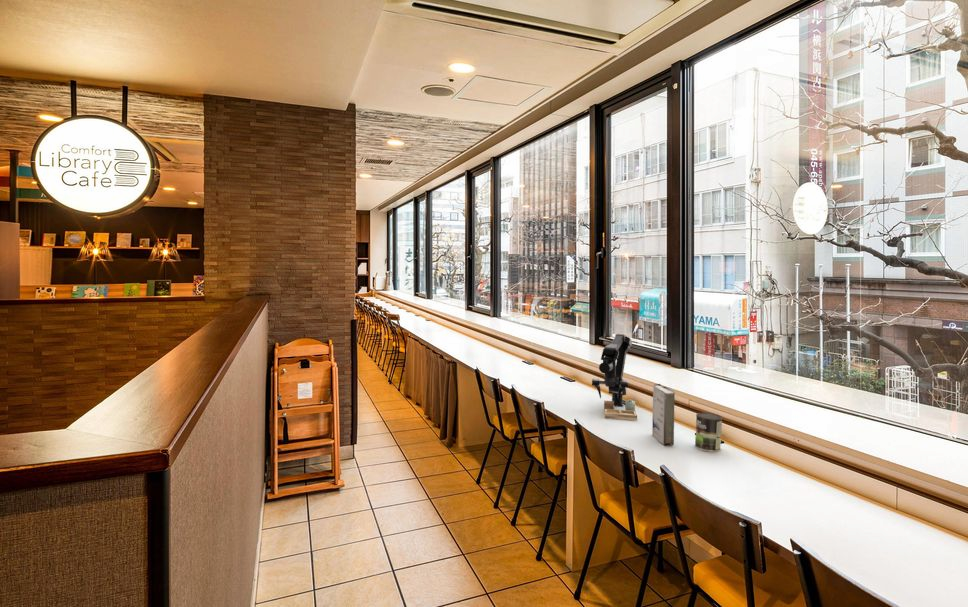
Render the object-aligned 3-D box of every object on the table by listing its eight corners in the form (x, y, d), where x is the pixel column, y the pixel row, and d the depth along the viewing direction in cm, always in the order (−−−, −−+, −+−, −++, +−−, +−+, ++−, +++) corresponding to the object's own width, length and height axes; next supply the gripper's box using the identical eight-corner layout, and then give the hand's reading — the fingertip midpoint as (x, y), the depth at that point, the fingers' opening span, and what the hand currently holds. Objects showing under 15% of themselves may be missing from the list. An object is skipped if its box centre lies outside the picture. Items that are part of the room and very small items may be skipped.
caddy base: (604, 413, 270) (604, 408, 270) (635, 415, 267) (635, 411, 267) (604, 418, 262) (604, 413, 261) (637, 420, 258) (637, 415, 258)
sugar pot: (624, 410, 276) (625, 398, 275) (634, 411, 275) (634, 399, 274) (625, 413, 271) (625, 400, 271) (635, 414, 270) (635, 401, 270)
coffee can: (705, 452, 213) (706, 419, 212) (689, 444, 223) (691, 413, 223) (726, 451, 216) (727, 418, 215) (710, 443, 226) (711, 411, 225)
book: (650, 433, 237) (652, 382, 236) (662, 434, 237) (664, 383, 236) (661, 446, 221) (663, 391, 219) (674, 446, 221) (676, 391, 219)
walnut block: (603, 409, 278) (604, 400, 278) (613, 410, 277) (613, 401, 277) (604, 411, 273) (604, 402, 273) (613, 412, 272) (614, 403, 272)
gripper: (592, 372, 268) (591, 401, 269) (629, 374, 264) (628, 403, 265) (592, 368, 279) (591, 396, 280) (627, 370, 275) (626, 398, 276)
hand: (609, 398), depth 275 cm, fingers open, 9 cm apart
